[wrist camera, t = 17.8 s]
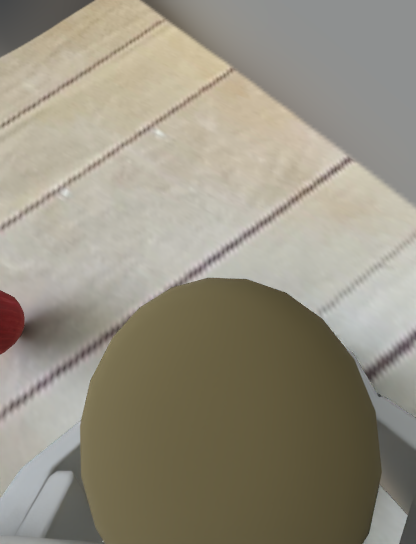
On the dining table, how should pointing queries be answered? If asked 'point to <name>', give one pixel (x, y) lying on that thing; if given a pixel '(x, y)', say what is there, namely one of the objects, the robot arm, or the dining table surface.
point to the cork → (229, 424)
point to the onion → (10, 321)
